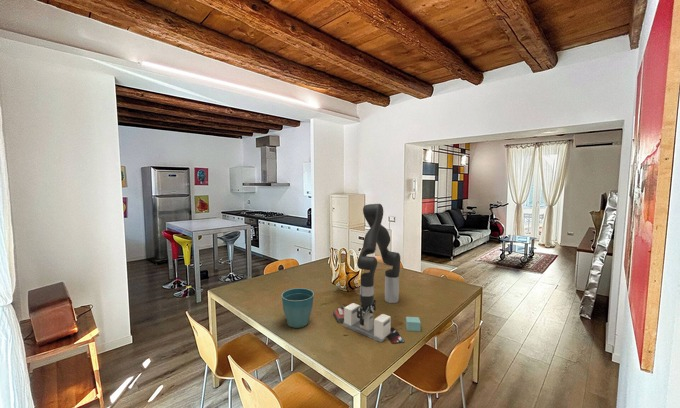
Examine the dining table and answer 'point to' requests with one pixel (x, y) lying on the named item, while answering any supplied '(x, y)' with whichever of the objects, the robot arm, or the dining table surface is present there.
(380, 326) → the module
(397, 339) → the smartphone
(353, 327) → the grey rectangular tray
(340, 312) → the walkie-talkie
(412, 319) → the block
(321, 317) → the dining table surface
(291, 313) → the flower pot
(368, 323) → the block
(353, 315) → the block
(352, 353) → the dining table surface
